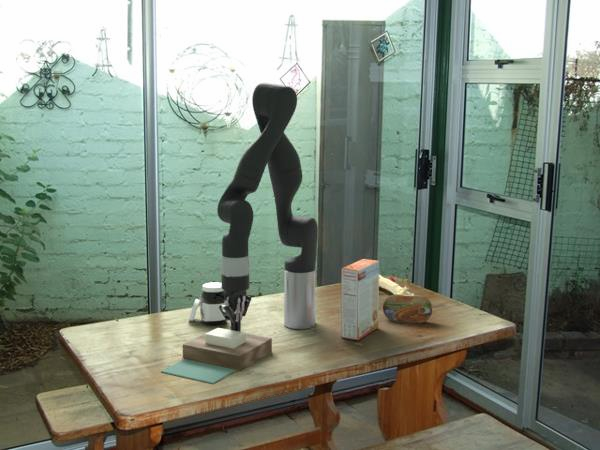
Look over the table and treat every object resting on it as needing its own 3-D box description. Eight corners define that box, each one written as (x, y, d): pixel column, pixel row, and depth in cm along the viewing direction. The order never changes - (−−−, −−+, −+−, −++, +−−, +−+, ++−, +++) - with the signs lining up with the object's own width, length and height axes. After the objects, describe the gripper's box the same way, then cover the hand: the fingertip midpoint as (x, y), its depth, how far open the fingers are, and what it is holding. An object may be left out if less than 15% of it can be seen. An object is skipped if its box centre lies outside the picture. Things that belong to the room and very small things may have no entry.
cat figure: (419, 304, 267) (378, 281, 288) (422, 279, 264) (380, 258, 286) (395, 308, 262) (355, 284, 283) (397, 283, 260) (357, 261, 281)
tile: (218, 336, 215) (217, 327, 214) (245, 341, 211) (245, 332, 210) (205, 342, 210) (205, 333, 209) (233, 348, 206) (233, 339, 205)
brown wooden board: (217, 341, 223) (216, 327, 222) (271, 352, 215) (271, 338, 214) (182, 358, 209) (182, 344, 208) (240, 370, 201) (239, 356, 200)
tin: (382, 320, 243) (382, 294, 242) (383, 317, 246) (384, 291, 245) (431, 324, 240) (432, 298, 238) (432, 321, 243) (433, 295, 241)
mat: (184, 360, 208) (184, 358, 208) (235, 370, 201) (235, 369, 201) (160, 372, 200) (160, 370, 200) (213, 383, 192) (213, 382, 192)
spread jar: (231, 324, 238) (231, 287, 236) (196, 329, 233) (195, 291, 231) (218, 314, 249) (218, 278, 247) (184, 318, 244) (183, 282, 242)
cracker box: (361, 325, 239) (362, 257, 235) (379, 328, 236) (380, 260, 232) (339, 337, 227) (340, 267, 223) (357, 341, 224) (359, 269, 220)
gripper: (237, 265, 219) (237, 325, 222) (209, 275, 207) (210, 338, 210) (260, 268, 215) (260, 329, 218) (233, 278, 204) (233, 342, 207)
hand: (235, 333), depth 214 cm, fingers closed
